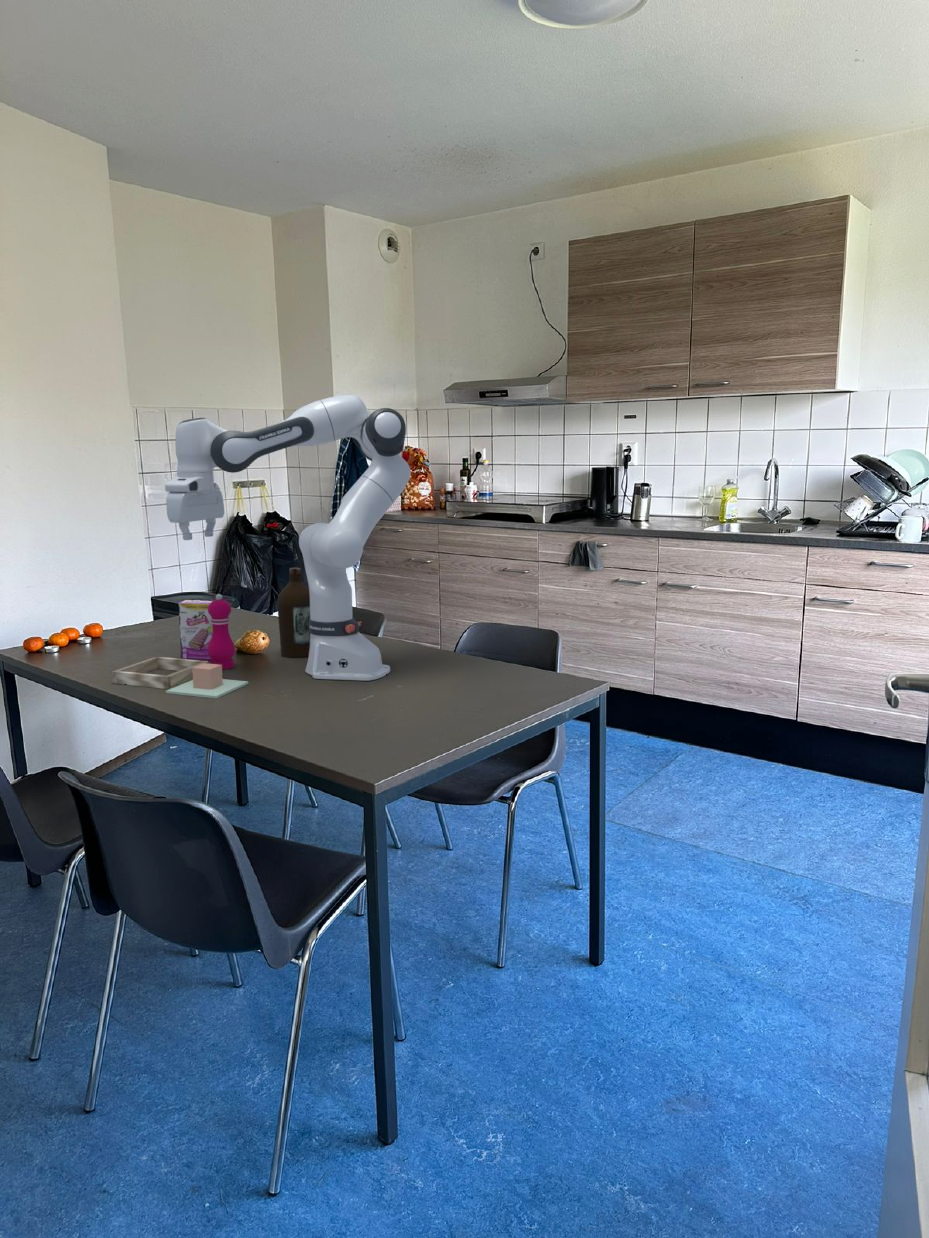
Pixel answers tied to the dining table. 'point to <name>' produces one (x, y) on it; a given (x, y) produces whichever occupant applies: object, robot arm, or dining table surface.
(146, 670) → the cubby frame
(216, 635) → the pepper mill
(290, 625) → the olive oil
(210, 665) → the cube
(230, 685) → the mat
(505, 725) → the dining table surface
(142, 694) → the dining table surface
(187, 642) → the candy bar box
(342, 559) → the robot arm
